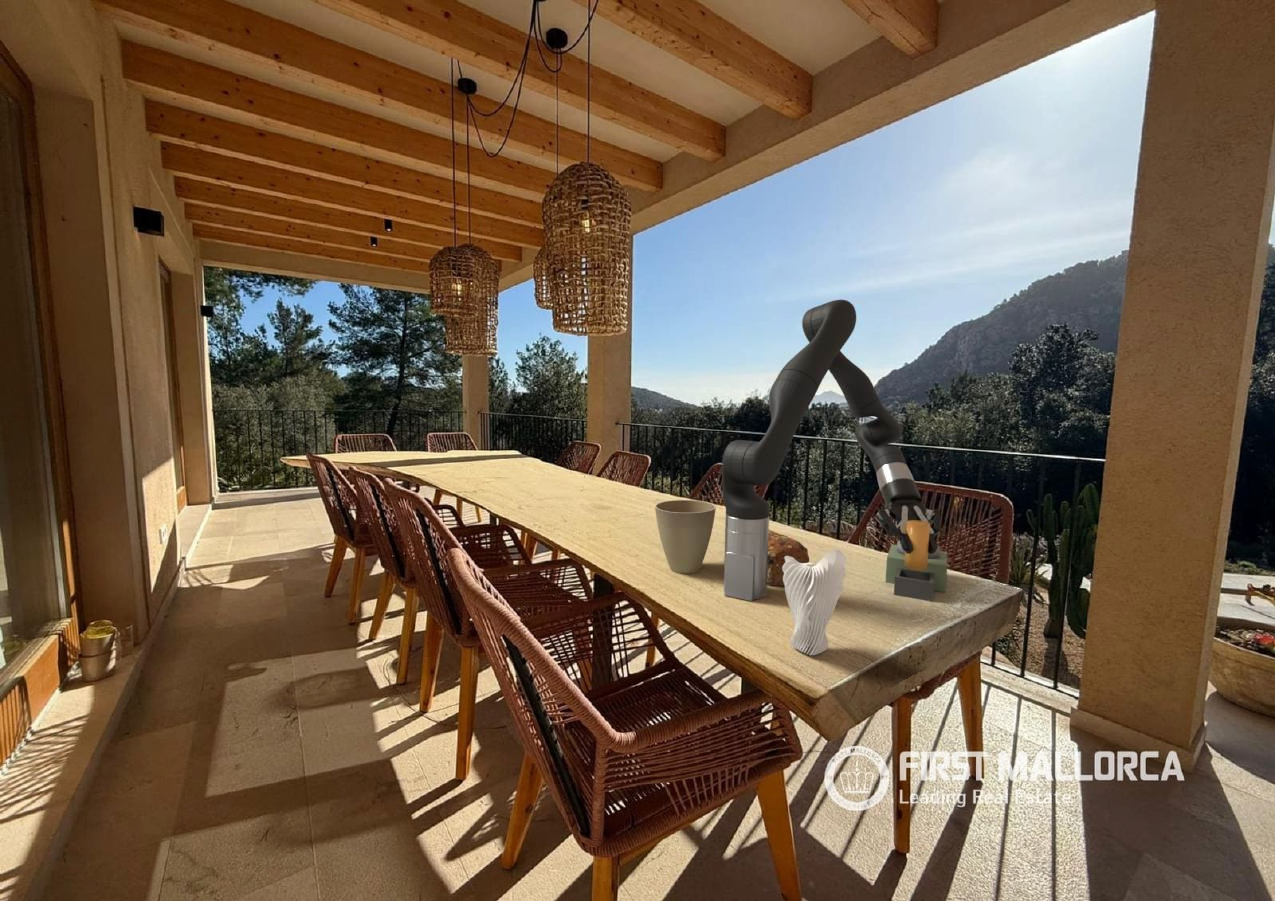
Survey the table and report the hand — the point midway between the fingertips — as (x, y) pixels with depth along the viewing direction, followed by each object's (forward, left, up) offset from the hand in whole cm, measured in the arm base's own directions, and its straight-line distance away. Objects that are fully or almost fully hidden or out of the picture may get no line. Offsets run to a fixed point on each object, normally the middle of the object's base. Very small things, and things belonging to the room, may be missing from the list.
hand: (921, 551), depth 112 cm
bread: (-2, +32, -10) cm, 34 cm away
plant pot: (-11, +51, -10) cm, 53 cm away
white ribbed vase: (-38, +15, -10) cm, 42 cm away
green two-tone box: (+8, +1, -10) cm, 12 cm away
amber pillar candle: (+2, +1, -4) cm, 5 cm away
